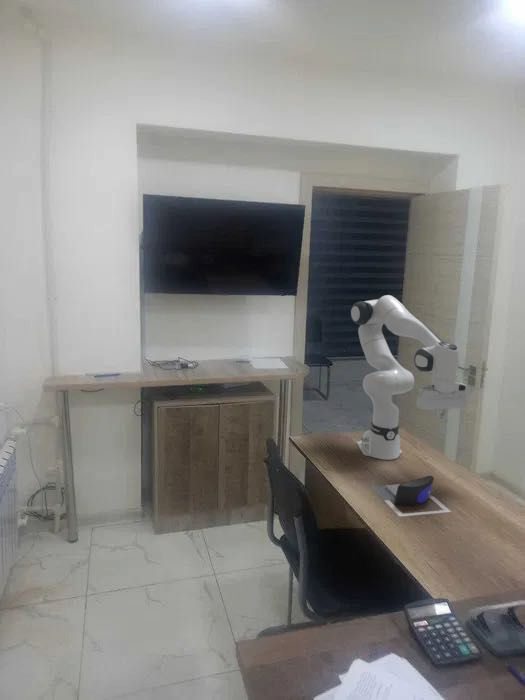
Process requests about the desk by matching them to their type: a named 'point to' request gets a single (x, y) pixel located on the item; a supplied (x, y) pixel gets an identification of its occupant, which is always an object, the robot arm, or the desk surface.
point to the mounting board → (387, 497)
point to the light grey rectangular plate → (392, 489)
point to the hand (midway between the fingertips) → (439, 419)
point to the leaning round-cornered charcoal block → (414, 492)
